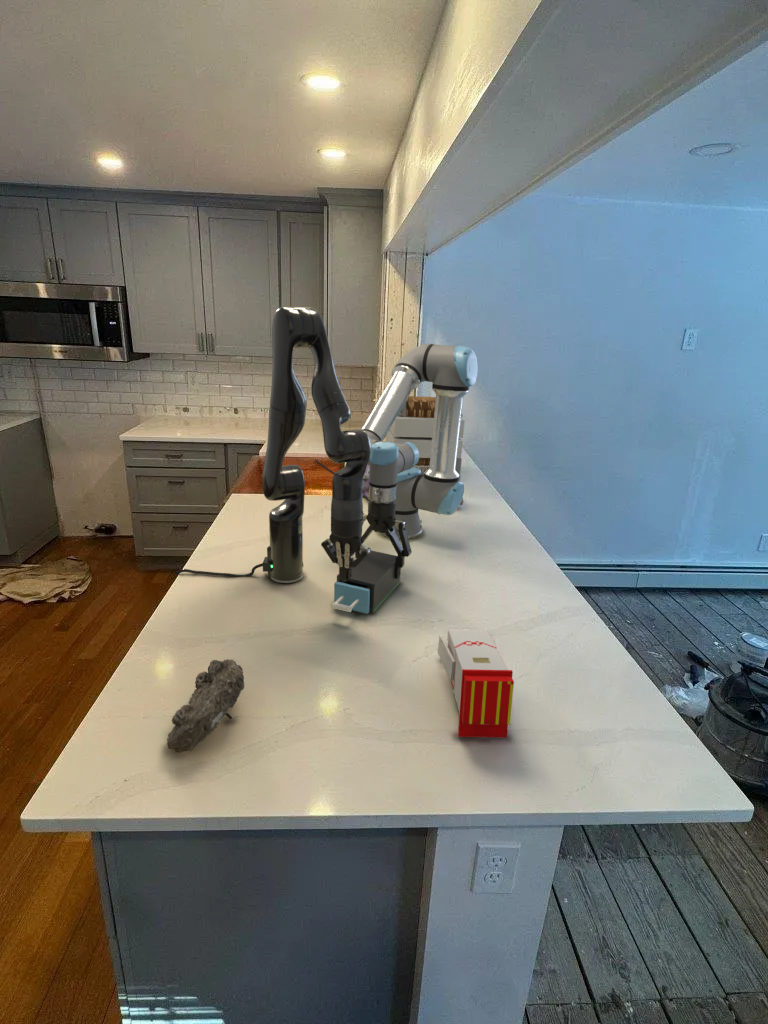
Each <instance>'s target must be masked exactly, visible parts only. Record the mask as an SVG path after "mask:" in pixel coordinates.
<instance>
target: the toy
mask: <svg viewBox="0 0 768 1024" xmlns="http://www.w3.org/2000/svg"><path fill="white" fill-rule="evenodd" d="M446 640H447V643H446V641H445V639H444V636H443V635H442V634H439V637H438V646H437V656H438V657H439V659H440V661H441V663H442V666H443V668H444V670H445V672H446V674H447V677H448V679H449V681H450V684H451V687H452V690H453V693H454V697H455V701H456V705H457V708H458V711H459V714H458V715H459V716H458V730H457V731H458V732H457V737H458V738H508V731H509V726H510V725H511V717H512V707H513V697H514V696H513V695H514V684H515V680H514V679H513V673H514V671H513V670H512V669H508V667H507V665H506V662H505V661H504V659H503V658H502V655H501V653H500V651H499V649H498V647H497V643H496V639H495V637H494V635H493V634H491V632H490V631H489V629H467V628H466V629H465V628H463V629H461V628H460V629H459V628H448V630H447V639H446Z"/></svg>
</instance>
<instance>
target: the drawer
mask: <svg viewBox="0 0 768 1024" xmlns="http://www.w3.org/2000/svg"><path fill="white" fill-rule="evenodd" d="M333 585H334V589H333V602H331V603H330V608H332V609H335V610H340V611H343V612H347V613H351V612H352V611H354V612H357V613H362V614H366V615H369V614H370V612H369V606H370V601H371V587H370V586H366V585H362V584H358V583H353V582H349V581H342V583H341V582H337V581H335V582H334V583H333Z"/></svg>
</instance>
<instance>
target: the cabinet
mask: <svg viewBox="0 0 768 1024" xmlns="http://www.w3.org/2000/svg"><path fill="white" fill-rule="evenodd" d="M397 556H398V555H394V554H391V553H387V552H386V553H385V552H381V551H375V550H371V552H370V553H369V554H368V555H367V556H366V557H365V558H364V559H363V560H362V561H361V562H360V563H359V564H358V565H357V566H356V567H354V568H353V567H352V576H351V578H350V579H349V580H348V581H349V582H353V583H358V584H362V585H366V586H370V587H371V601H370V606H369V614H375V612H377V610H378V609H379V608H380V607H381V605H383V603H384V602H385V601H386V600H387V599H388V598H389V597H390V595H391V594H392V593H393V592H394V591H395V590H396V589H397V587H398V586H399V585H400V584H401V575H400V576H399V578H398V579H395V562H396V557H397ZM336 582H341V583H342V580H341V578H340V577H339V573H338V574H336Z"/></svg>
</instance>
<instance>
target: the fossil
mask: <svg viewBox="0 0 768 1024" xmlns="http://www.w3.org/2000/svg"><path fill="white" fill-rule="evenodd" d="M243 670H244V669H243V667H242V665H240V664H237V662H236V661H235V660H234V659H232V658H231V659H227V658H226V659H224V660H223V661H222V660H217V659H212V660H211V661H210V663H209V665H208V666H207V671H201V672H199V673H198V674H197V675H196V676H195V680H194V684H195V685H194V687H195V689H194V690H193V693H192V694H191V697H190V698H189V700H188V704H184V705H182V706H181V707H180V709H177V710H176V711H175V713H174V715H173V716H172V718H171V723H172V724H173V727H172V730H171V731H170V732H168V734H167V738H166V741H167V742H166V745H167V749H168V750H169V751H173V752H174V753H176V754H178V753H182V752H188V751H189V752H192V751H193V750H195V748H196V747H197V746H199V744H200V743H201V742H203V741H204V740H205V739H206V738H207V737H208V736H209V735H210V734H211V733H212V732H214V730H215V729H217V727H218V726H219V724H220V722H221V721H222V720H223V719H224V718H225V716H226V717H227V719H229V720H233V717H232V715H230V714H229V710H230V709H231V708H234V706H235V704H236V703H237V702H238V699H239V697H240V695H241V693H242V691H243V690H245V689H244V688H245V675H244V671H243Z"/></svg>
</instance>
